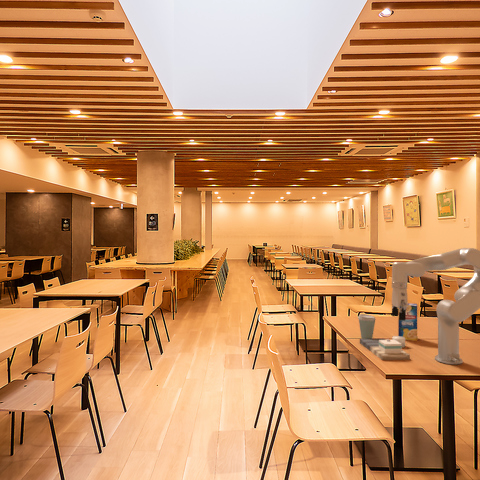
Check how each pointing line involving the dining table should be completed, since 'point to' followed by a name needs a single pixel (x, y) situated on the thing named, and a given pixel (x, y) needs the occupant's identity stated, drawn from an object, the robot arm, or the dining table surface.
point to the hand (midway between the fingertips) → (398, 318)
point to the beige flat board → (374, 348)
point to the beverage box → (408, 323)
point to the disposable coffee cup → (366, 326)
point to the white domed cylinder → (399, 340)
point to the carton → (390, 346)
